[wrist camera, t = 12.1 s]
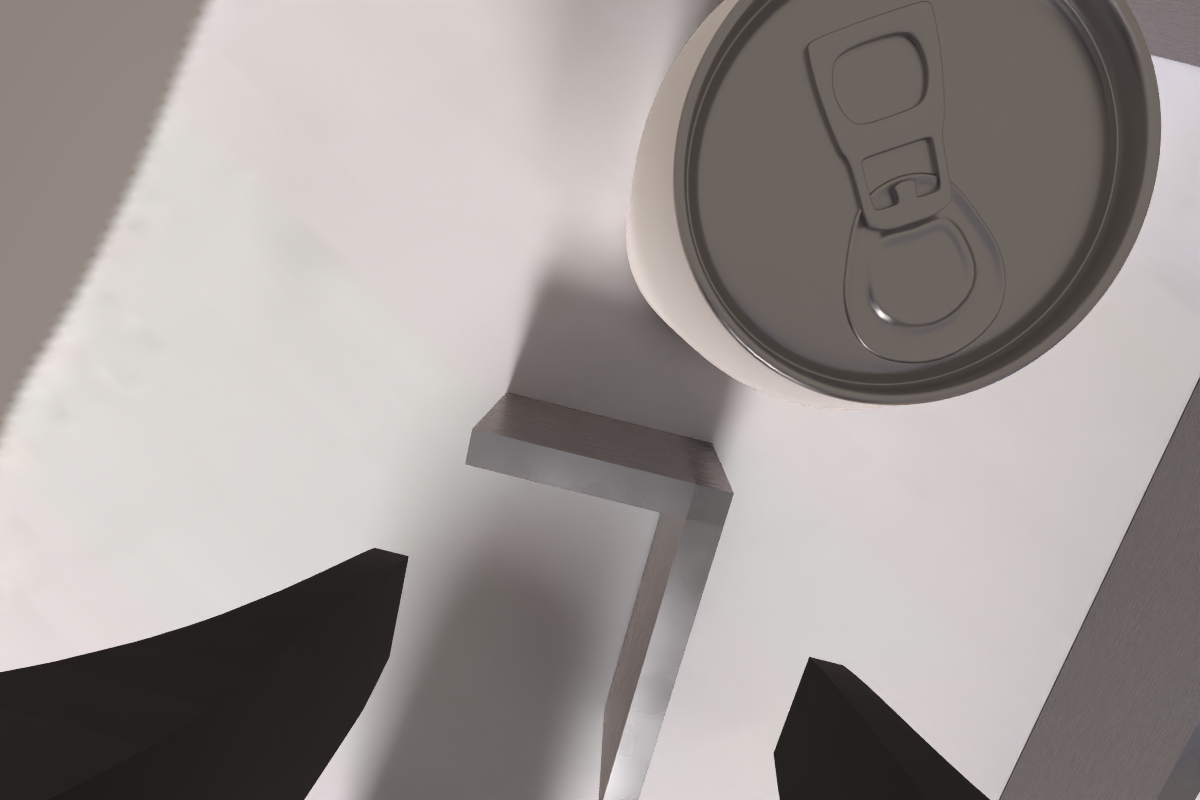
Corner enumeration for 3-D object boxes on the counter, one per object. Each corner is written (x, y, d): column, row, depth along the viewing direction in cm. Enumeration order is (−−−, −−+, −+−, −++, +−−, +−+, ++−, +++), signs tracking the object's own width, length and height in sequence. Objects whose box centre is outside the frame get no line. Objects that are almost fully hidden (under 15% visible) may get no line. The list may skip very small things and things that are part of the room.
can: (660, 368, 20) (722, 502, 8) (597, 166, 19) (562, -22, 7) (860, 305, 19) (1238, 348, 8) (807, 92, 18) (1157, -248, 6)
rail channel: (1385, 70, 17) (1641, 6, 13) (1021, 815, 23) (1112, 945, 19) (615, -123, 17) (610, -255, 13) (446, 674, 23) (403, 771, 19)
